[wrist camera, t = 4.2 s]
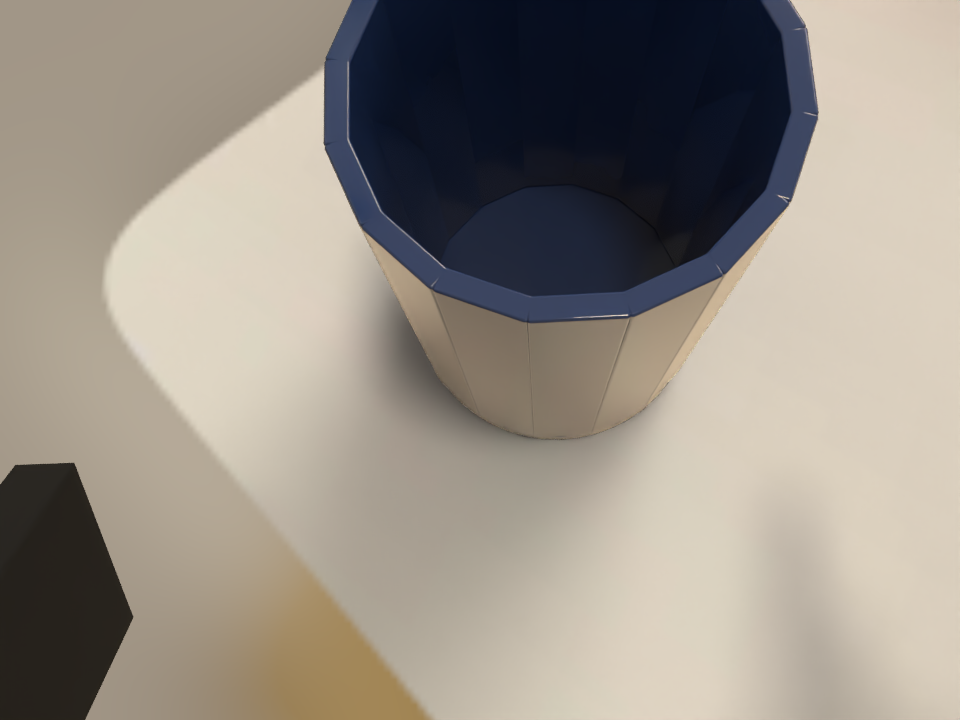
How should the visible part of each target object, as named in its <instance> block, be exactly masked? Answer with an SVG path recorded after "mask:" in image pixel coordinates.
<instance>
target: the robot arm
mask: <svg viewBox="0 0 960 720" xmlns="http://www.w3.org/2000/svg"><path fill="white" fill-rule="evenodd" d="M132 619H133V615H132V612H131V610H130V607H129V605H128V602H127V600H126V597H125V594H124V592H123V590H122V586H121V584H120V582H119V579H118V576H117V574H116V571H115V568H114V566H113V563H112V561H111V558H110V555H109V553H108V550H107V547H106V545H105V542H104V540H103V537H102V534H101V532H100V529H99V526H98V524H97V522H96V519H95V516H94V513H93V511H92V508H91V505H90V503H89V500H88V498H87V495H86V492H85V490H84V487H83V485H82V482H81V480H80V477H79V474H78V472H77V469H76V466H75V464H74V463H58V464H32V465H15V466H14V468H13V469H12V471H10V473H9V474H8V475H7V477H6V478H5V479H4V481H3V482H2V483H1V484H0V720H85V719H86V716H87V714H88V712H89V710H90V708H91V705H92V704H93V701H94V700H95V697H96V695H97V693H98V691H99V689H100V687H101V685H102V682H103V681H104V678H105V676H106V674H107V672H108V670H109V668H110V666H111V664H112V662H113V659H114V657H115V655H116V653H117V651H118V649H119V647H120V645H121V643H122V640H123V638H124V636H125V634H126V632H127V630H128V628H129V626H130V623H131V621H132Z"/></svg>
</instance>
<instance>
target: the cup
mask: <svg viewBox="0 0 960 720" xmlns="http://www.w3.org/2000/svg"><path fill="white" fill-rule="evenodd" d="M818 113H819V111H818V104H817V97H816V89H815V82H814V75H813V67H812V60H811V53H810V46H809V38H808V31H807V28H806V26H805V23H804V22H803V20H802V18H801V17H800V15H799V14H798V12H797V11H796V9H795V7H794V6H793V4H792V3H791V1H790V0H352V1H351V4H350V6H349V8H348V10H347V12H346V15H345V17H344V19H343V21H342V23H341V25H340V28H339V30H338V32H337V34H336V36H335V39H334V41H333V43H332V45H331V47H330V49H329V52H328V54H327V56H326V61H325V67H324V145H325V151H326V153H327V155H328V157H329V160H330V162H331V164H332V166H333V169H334V171H335V173H336V175H337V177H338V180H339V182H340V184H341V186H342V189H343V191H344V193H345V195H346V197H347V200H348V202H349V204H350V206H351V209H352V211H353V213H354V215H355V217H356V220H357V222H358V224H359V226H360V228H361V230H362V232H363V234H364V236H365V238H366V240H367V242H368V243H369V245H370V247H371V249H372V251H373V253H374V255H375V257H376V259H377V261H378V263H379V265H380V267H381V268H382V270H383V272H384V274H385V276H386V278H387V280H388V282H389V284H390V286H391V288H392V290H393V292H394V293H395V295H396V297H397V299H398V301H399V303H400V305H401V307H402V309H403V311H404V313H405V315H406V317H407V318H408V320H409V322H410V324H411V326H412V328H413V330H414V332H415V334H416V336H417V338H418V340H419V341H420V343H421V345H422V347H423V349H424V351H425V353H426V355H427V357H428V359H429V361H430V363H431V365H432V366H433V368H434V370H435V372H436V374H437V376H438V378H439V379H440V381H441V382H442V383H443V384H444V385H445V386H446V387H447V388H448V389H449V390H450V392H451V393H452V394H453V395H454V396H455V397H456V398H457V399H458V400H459V401H460V402H461V403H462V404H463V405H464V406H466V407H467V408H468V409H469V410H471V411H472V412H473V413H474V414H476V415H477V416H479V417H480V418H482V419H484V420H485V421H487V422H489V423H490V424H492V425H495V426H497V427H499V428H501V429H504V430H506V431H509V432H512V433H515V434H519V435H522V436H526V437H533V438H539V439H559V440H562V439H572V438H580V437H585V436H589V435H593V434H597V433H600V432H603V431H605V430H608V429H610V428H613V427H615V426H617V425H619V424H621V423H623V422H625V421H626V420H628V419H630V418H632V417H633V416H634V415H636V414H637V413H639V412H641V411H642V410H644V409H645V408H646V407H647V406H648V404H649V403H651V402H652V401H653V400H654V399H655V398H656V397H657V396H658V395H659V394H660V392H661V391H662V390H663V388H664V387H665V386H666V385H667V383H668V382H669V381H670V380H671V379H672V378H673V377H674V376H675V375H676V374H677V372H678V371H679V370H680V368H681V367H682V365H683V364H684V362H685V361H686V359H687V358H688V356H689V355H690V353H691V352H692V350H693V349H694V347H695V346H696V344H697V343H698V341H699V340H700V338H701V337H702V335H703V334H704V332H705V331H706V329H707V328H708V326H709V325H710V323H711V322H712V320H713V319H714V317H715V316H716V314H717V313H718V311H719V310H720V308H721V307H722V305H723V304H724V302H725V301H726V299H727V298H728V296H729V295H730V293H731V292H732V290H733V289H734V287H735V286H736V284H737V283H738V281H739V280H740V278H741V277H742V275H743V274H744V272H745V271H746V269H747V268H748V266H749V265H750V263H751V262H752V260H753V259H754V257H755V256H756V254H757V253H758V251H759V250H760V248H761V247H762V245H763V244H764V242H765V241H766V239H767V238H768V236H769V235H770V233H771V232H772V230H773V229H774V227H775V226H776V224H777V223H778V221H779V220H780V218H781V217H782V215H783V214H784V212H785V211H786V209H787V208H788V206H789V204H790V203H791V201H792V199H793V196H794V192H795V189H796V186H797V183H798V180H799V177H800V174H801V171H802V168H803V164H804V161H805V158H806V155H807V152H808V149H809V146H810V143H811V139H812V136H813V133H814V130H815V127H816V124H817V121H818Z"/></svg>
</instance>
